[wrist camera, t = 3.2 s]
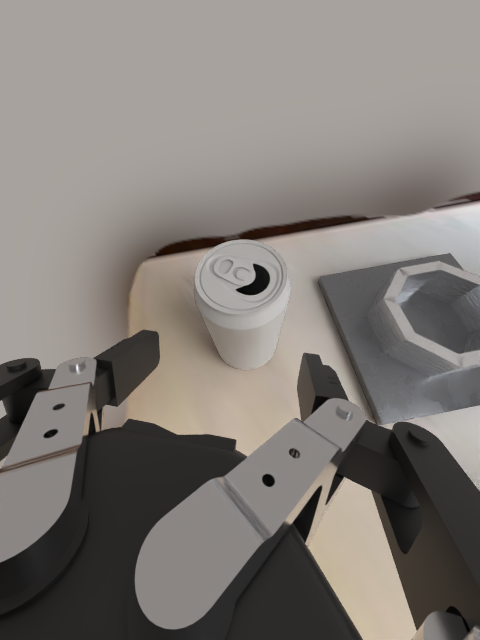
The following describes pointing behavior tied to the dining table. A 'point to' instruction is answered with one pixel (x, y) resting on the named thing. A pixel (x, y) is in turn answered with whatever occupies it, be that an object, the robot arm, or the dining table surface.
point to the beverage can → (243, 300)
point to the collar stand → (410, 335)
